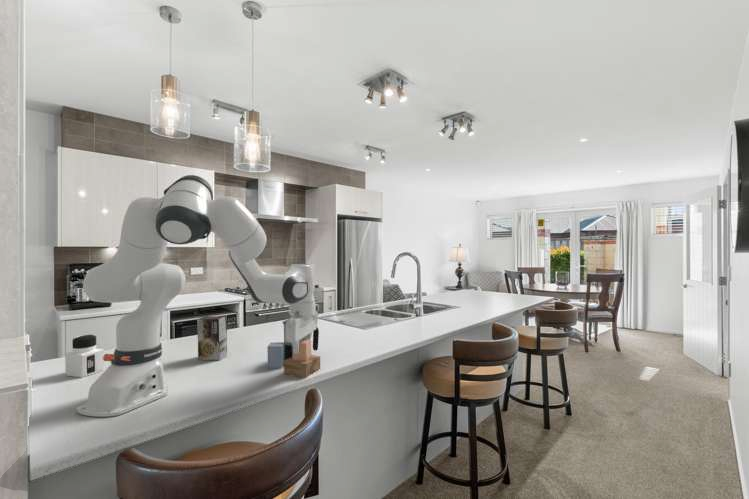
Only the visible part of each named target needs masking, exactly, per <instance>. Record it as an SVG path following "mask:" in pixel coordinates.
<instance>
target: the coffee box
mask: <svg viewBox="0 0 749 499" xmlns="http://www.w3.org/2000/svg"><path fill="white" fill-rule="evenodd" d="M227 317H228V316H227V315H205V316H202V317H200V318H197V319H196V322H197V324H196V325H197V327H196V328H197V360H199V361H220V360H222V359H224V358H226V357H227V356H228V332H227V331H228V329H227V328H228V327H227V325H228V323H227V321H228V320H227V319H228V318H227Z"/></svg>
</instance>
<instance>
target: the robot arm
mask: <svg viewBox="0 0 749 499" xmlns="http://www.w3.org/2000/svg"><path fill="white" fill-rule="evenodd" d="M211 233H213V234H215V235H216V236H217V237H218V238H219V240H220V241H221V242H222V243H223V244H224V246H225V248H227V249H228V256H229V258H230V261H231V262H232V264H233V265H234V267H235V269H236V270H237V271H238V273H239V275H240V276H241V277H242V279H243V280H244V282H245V284H246V286H247V288H248V290H249V293H250V296H251V297H252V299H253V300H254V301H255V302H256V303H259V304H261V303H262V304H280V305H281V304H282V305H288V310H289V311H288V314H289V316H290V317H289V318H288V319H286V320H287V323H286V333H285V339H286V342H290V343H292V346H293V352H294V353H299V352H300V347H299V344H298V343H299V340H300V339H302V338H303V337H305V336H306V337H305V340H311V341H312V337H313V331H314V330H316V328H317V327H318V322H319V320H318V318H319V317H318V316H319V313H318V311H320V305H319V304H317V303H316V299H315V295H314V294H315V289H316V288H315V287H316V285H315V281H316V280H315V271H314V268H313V266H312V265H311V264H308V263H301V262H299V263H298V262H297V263H296V262H295V263H294V262H293V263H291V265H290V268H289V269H288V270H287V271H286V272H284V273H283V274H281V273H279V274H277V273H269V272H265V271H263V270H262V269H261V267H260V266H259V264H258V263H257V261H256V258H258V257H259V256H260V255H261V253H262V252H264V250H265V247H266V245H267V238H268V237H267V235H266V232H265V229H264V228H263V227H262V225H261V224H260V223H259V221H258V220H257V219H256V217H255V216H254V215H253V214H252V212H251V211H250V210H249V209H248V208H247V207H246V206H245V205H244V204H243V203H242V202H241V201H239V200H238V199H237V198H236V197H234V196H222V197H220V198H217V199H214V192H213V189H212V185H210V183H209V182H208V180H206V179H204V178H203V177H201V176H199V175H193V174H187V175H184V176H181V177H180V178H178V179H177V180H175V181H174V182H173V183H172V184H171V185H170V186H168V187H167V188H166V189H164V190H163V196H161V197H160V198H159V197H158V198H155V197H151V196H150V197H148V196H143V197H139V198H136V199H134V200H132V201H131V202H130V204H129V205H128V206H127V209H126V211H125V214H124V217H123V221H122V225H121V232H120V238H119V243H118V248H117V251H116V252H115V253H114V255H112V257H110V259H108V260H107V261H106V262H103V263H102V264H100V265H97V266H95V267H92V268H90V270H89V271H88V272H87V273H86V275H85V276H84V277H83V281H82V289H83V292H84V294H85V296H86V297H88V299H89V300H90V301H92V302H98V303H109V304H110V303H112V304H113V303H126V302H135V301H136V302H137V301H139V303H140V304H139V306H138V307H137V308H136V309H134V310H133V311H131V312H129V313H127V314H125V315H124V316H122V317H121V318H119V320H118V321H117V323H116V326H115V329H116V330H115V332H116V333H115V334H116V335H115V336H116V340H115V341H116V343H115V344H116V346H115V347H116V348H115V349H114V351H113V353H105V354H104V356H103V357H104V358H103V360H104V362H110V365H109V366H108V367H107V368H106V370H105V369H104V372H103V373H102V374H100V376H99V377H98V378H97V379H96V380H94V382H92V384H91V385H90V387H89V388H88V389H89V390H88V395H87V401H86V402H84V403H82V404H80V405H78V406H77V408H76V413H77V414H79V415H83V416H86V417H87V416H88V417H99V418H100V417H103V418H105V417H116V416H120V415H122V414H125V413H128V412H129V411H131V410H135V409H138V408H139V407H142V406H144V405H146V404H149V403H151V402H154V401H156V400H158V399H161V398H164V397H165V396H167V395H168V394H169V390H168V389H167V388H168V387H167V385H166V380H165V373H164V367H163V364H162V358H161V356H162V353H163V347H162V342H161V324H162V317H163V315H164V312H165V311H166V308H167V306H168V305H169V304H170V303H171V302H172V300H174V298H176V297H177V296H178V295H180V294H181V292H182V291H183V290H184V289H185V285H186V281H187V280H186V278H187V277H186V275H185V274H186V273H185V272H184V271H183V269H182V268H181V266H180V265H178V264H172V263H165V262H164V263H163V262H162V261H163V259H165V256H166V252H167V246H168V243H170V244H173V245H188V244H191V243H194V242H196V241H198V240H204V239H206V238H208V237H209V235H211Z"/></svg>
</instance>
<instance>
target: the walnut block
mask: <svg viewBox="0 0 749 499" xmlns="http://www.w3.org/2000/svg"><path fill="white" fill-rule="evenodd" d="M319 369H320V370H321V356H320V355H314V354H311V357H310V358H309V359H308V360H307V361H297V360H293V357H291V358H289V359H287V360H284V365H283V375H285V374H286V375H287V376H291V375H294V376H293V377H297V376H302V377H301V378H304V377H307V378H308V376H309V375H310V376H311V374H312V375H314V374H315V373H317V372H319V371H320V370H319ZM316 371H317V372H316ZM314 372H315V373H314ZM313 373H314V374H313ZM310 376H309V377H310Z"/></svg>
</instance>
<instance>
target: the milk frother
mask: <svg viewBox="0 0 749 499" xmlns="http://www.w3.org/2000/svg"><path fill="white" fill-rule="evenodd" d="M287 320H288V319H286V320H283V321H282V325H283V342H284V360H287V359H289V358H291V357H293V347H292V343H290V342H286V339H285V333H286V323H287ZM319 335H320V332H319V328H318V326H317V328H316V330H314V331H313V332H312V350H313V351H314V352H316V351H318V348H319V337H320V336H319ZM305 337H306V336H305ZM305 337H303V338H302V339H305Z"/></svg>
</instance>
